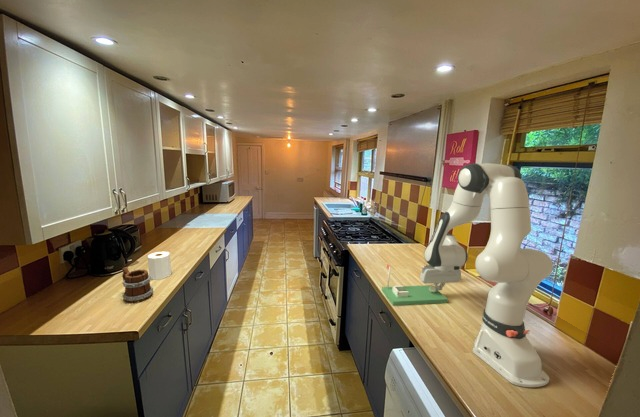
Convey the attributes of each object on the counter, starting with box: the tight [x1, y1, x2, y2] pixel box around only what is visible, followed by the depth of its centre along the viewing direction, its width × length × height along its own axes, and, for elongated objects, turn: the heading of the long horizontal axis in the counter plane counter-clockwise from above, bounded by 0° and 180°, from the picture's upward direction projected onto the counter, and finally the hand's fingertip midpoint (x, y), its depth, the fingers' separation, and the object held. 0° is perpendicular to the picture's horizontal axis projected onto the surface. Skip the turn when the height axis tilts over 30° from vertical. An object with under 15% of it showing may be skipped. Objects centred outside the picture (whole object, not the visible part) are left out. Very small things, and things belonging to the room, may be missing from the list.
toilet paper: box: [147, 251, 172, 280], centre depth 142 cm, size 10×10×12 cm
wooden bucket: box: [121, 267, 154, 304], centre depth 121 cm, size 12×14×15 cm
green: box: [381, 263, 449, 306], centre depth 130 cm, size 16×28×14 cm, turn 98°
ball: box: [429, 285, 436, 292], centre depth 132 cm, size 3×3×3 cm
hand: (438, 289), depth 132 cm, fingers closed
